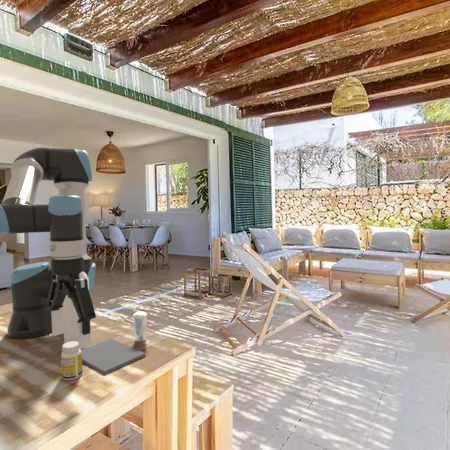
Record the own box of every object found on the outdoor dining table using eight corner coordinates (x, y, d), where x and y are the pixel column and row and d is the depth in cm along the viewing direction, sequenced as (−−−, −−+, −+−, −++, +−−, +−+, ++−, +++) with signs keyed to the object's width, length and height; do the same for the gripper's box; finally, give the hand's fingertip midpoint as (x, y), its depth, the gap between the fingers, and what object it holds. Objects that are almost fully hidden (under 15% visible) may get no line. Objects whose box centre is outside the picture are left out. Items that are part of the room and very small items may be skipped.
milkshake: (146, 343, 104) (145, 312, 104) (130, 342, 105) (129, 311, 105) (152, 337, 109) (151, 307, 108) (137, 336, 110) (136, 307, 109)
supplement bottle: (76, 369, 88) (75, 338, 88) (85, 375, 85) (84, 343, 85) (58, 376, 85) (57, 344, 84) (67, 383, 82) (65, 350, 81)
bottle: (63, 347, 101) (59, 251, 99) (64, 338, 108) (60, 248, 106) (91, 343, 105) (88, 249, 103) (90, 334, 112) (87, 246, 110)
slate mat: (71, 356, 96) (71, 353, 96) (111, 341, 106) (111, 338, 106) (104, 374, 85) (104, 371, 85) (145, 355, 96) (145, 353, 96)
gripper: (30, 255, 88) (34, 333, 89) (78, 263, 72) (82, 358, 73) (59, 252, 93) (62, 325, 95) (109, 259, 78) (112, 347, 79)
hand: (70, 340), depth 84 cm, fingers open, 13 cm apart
